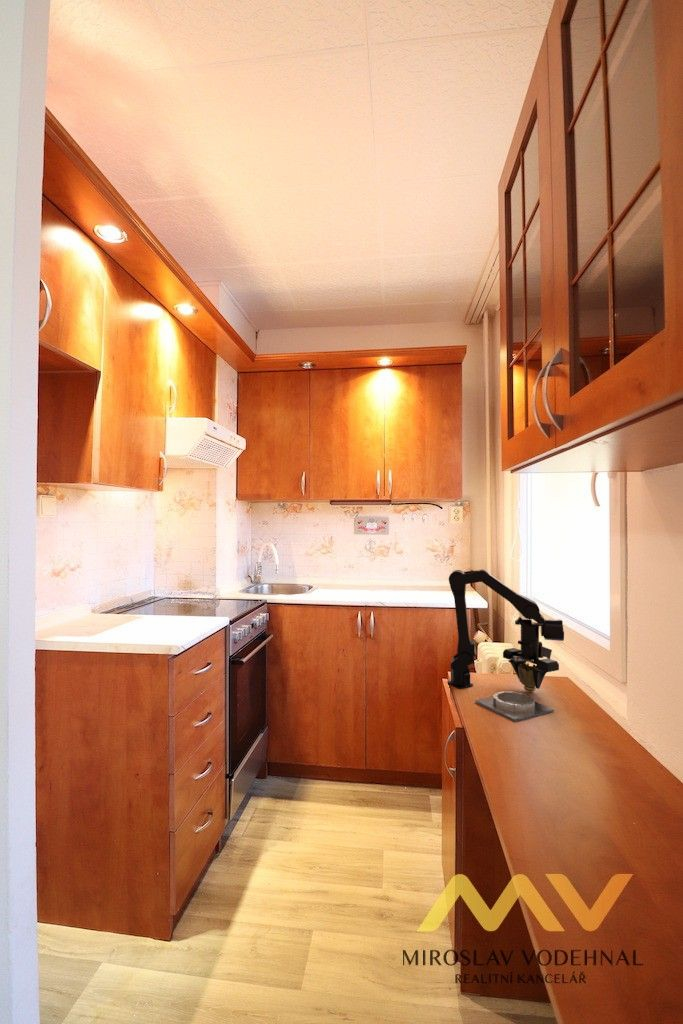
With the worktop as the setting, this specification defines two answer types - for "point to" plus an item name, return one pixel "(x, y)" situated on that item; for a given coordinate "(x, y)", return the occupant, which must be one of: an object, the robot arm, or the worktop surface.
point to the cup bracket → (514, 705)
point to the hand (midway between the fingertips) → (529, 685)
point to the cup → (527, 676)
